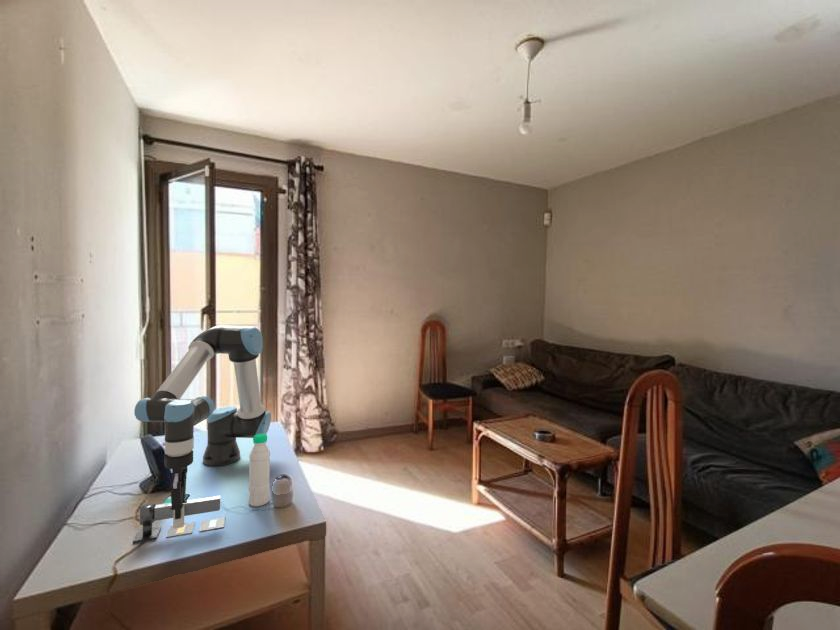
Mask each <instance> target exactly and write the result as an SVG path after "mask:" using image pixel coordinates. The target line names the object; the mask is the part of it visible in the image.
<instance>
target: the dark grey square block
mask: <svg viewBox="0 0 840 630" xmlns="http://www.w3.org/2000/svg"><path fill="white" fill-rule="evenodd" d="M161 530H162V526H161V525H159V526H154V527H153V523H151V524H148V525H142V528H141V529H138V530H137V532H136V535H134V538H133V540H132V545H135V544H139V543H144V542H146V543H147V542H151V541H157V539H158V537H159V534H160V532H161Z"/></svg>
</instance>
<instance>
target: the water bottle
mask: <svg viewBox="0 0 840 630" xmlns="http://www.w3.org/2000/svg"><path fill="white" fill-rule="evenodd" d="M252 441H253V443H252V444H253V445H254V446H253V447H252V449H251V451H250V453H249V456H248V457H249V468H248V469H249V473H248V474H249V475H248V481H249V485H248V504H249V505H250V506H252V507H261V506H264V505H266V504H267V503H268V502H269V501H270V476H271V475H270V474H271V460H270V457H271V451H270V450H269V447H268V446H267V441H268V435H267V434H257V435H255V436H254V437H253V438H252Z"/></svg>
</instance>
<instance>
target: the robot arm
mask: <svg viewBox="0 0 840 630" xmlns="http://www.w3.org/2000/svg"><path fill="white" fill-rule="evenodd" d="M263 344H264V339H263V334H262V333H261V331H260V329H259V328H257V327H255V326H248V325H243V326H242V325H216V326H212V327H210V328H208V329H206V330H204V331H202V332H201V333H200V334H198V335H197V336H195V337H194V338H193V340H192V341H191V342H190V343H189V345H188V351H186V353H185V354H184V355H183V357H182V359H180V360H179V362H178V363H177V365H176V366H175V367H174V368H173V370H172V371H171V373H170V374H169V375H168V376H167V377H166V379H165V380H164V381H163V383H162V384H161V385H160V386H159V388H158V389H157V390H156V392H155V393H154V394H153V395H152V396H151V397H146V398H145V397H144V398H143V397H142V398H141V399H139V400H138V401H137V402H136V404H135V406H134V412H133V414H134V417H135V419H136V420H137V421H140V422H146V423H147V422H149V423H164V442H162V446H163V447H164V461H163V462H164V467H165V468H166V469H167V470H171V472H170V482H171V483H169V488H170V495H171V503H172V506H171V507H170V510H171V509H172V510H173V518H172V526H173V529H175V528H181V527H184V524H185V516H184V504H183V503H187V500H188V499H187V500H184V499H185V497H186V494H187V493H186V491H187V474H188V466H190V465H192V464H193V463H194V450H193V449H194V445H195V444H194V443H195V442H194V439H195V438H194V437H195V436H194V428H195V427H194V426H197V425H198V424H200V423H201V422H203V421H205V420H207V444H206V448H205V449H204V450H205V451H204V454H203V455H202V462H203V463H202V464H204V465H206V466H210V467H219V466H220V467H221V466H225V465H230V464H232V463H235V462H237V461H238V460H239V459H241V450H240V448H239V444H238V442H237V438H240V439H241V438H242V439H245V438H246V439H253V437H254V436H255V435H257V434H266V435H267V434H268V431H269V429H270V426H271V420H272V413H271V412H270V411H269V410H267V411H266V407H265V405H264V404H262V401H261V394H260V392H261V391H260V385H259V377H258V366H257V359H258V358H259V356H260V354H261V353H262V351H263V348H264V345H263ZM218 354H223V355H224V354H225V355H226V354H227V355H228V360H229V361H230V362H231V363H233V367H234V375H235V380H236V382H235V383H236V388H237V395H238V401H239V409H238V408H237V407H236V406H225V407H220V408H216V409H215V403H214V401H213V400H212V398H210V397H208V396H206V395H205V396H198V397H196V398H194V399H193V398H190V399H189V398H182V397H183V396H184V394H185V393H186V391H187V390H188V388H189V387H190V385H191V384H192V383H193V381H194V379H195V378H196V376H198V374H199V373H200V371H201V369H202V368H203V367H204V365H205V364H206V363H207V361H209V360H211V359H212V358H213V357H214V356H215V355H218Z"/></svg>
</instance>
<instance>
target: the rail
mask: <svg viewBox="0 0 840 630" xmlns="http://www.w3.org/2000/svg"><path fill="white" fill-rule="evenodd" d="M183 504H184V517H187V516H192V515H193V516H194V515H199V514H204V513H210V512H212V513H214V512H218V511H220V510H221V495H216V496H215V495H213V496H209V497H202V498H194V499H187V503H183ZM171 506H172V503H166V504H162V503H160V504H156V503H154V502H148V503H144V504H142V505H141V506H140V507H139V525H140V526H143V525H148V524H151V523H152V524H153V523H154V522H155V521H161V520H169V519H173V510H172V509H171V510H170V507H171Z"/></svg>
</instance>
